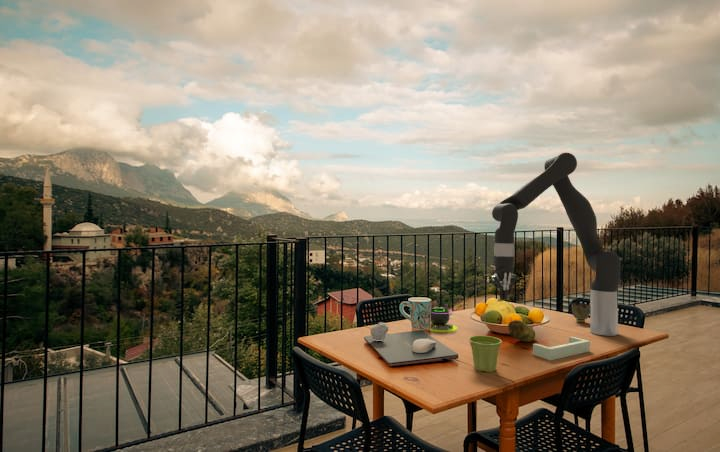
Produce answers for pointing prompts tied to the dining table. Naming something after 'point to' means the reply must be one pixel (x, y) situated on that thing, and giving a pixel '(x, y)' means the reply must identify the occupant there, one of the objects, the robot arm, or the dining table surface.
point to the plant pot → (485, 352)
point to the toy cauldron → (441, 320)
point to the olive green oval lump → (521, 331)
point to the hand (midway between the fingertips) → (503, 299)
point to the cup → (580, 312)
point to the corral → (562, 349)
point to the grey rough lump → (379, 331)
